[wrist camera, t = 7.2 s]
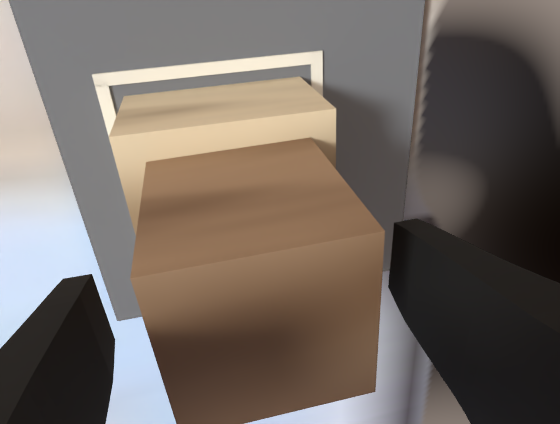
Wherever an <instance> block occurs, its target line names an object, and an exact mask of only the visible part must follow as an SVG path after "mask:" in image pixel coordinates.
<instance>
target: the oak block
mask: <svg viewBox="0 0 560 424" xmlns="http://www.w3.org/2000/svg"><path fill="white" fill-rule="evenodd" d="M310 137H311V139H312V140H313V141H314V142H315V144H316V145H317V146H318V147H319V149H320V150H321V151H322V152H323V154H324V155H325V156H326V157H327V159H328V160H329V161H330V163H331V164H332V165H333V166H334V168H335V169H336V108H335V107H334V106H333V105H332V104H330V103H329V102H328V101H327V100H326V99H325V98H324V97H322V96H321V95H320V94H319V93H318V92H317V91H316V90H315V89H313V88H312V87H311V86H310V85H309V84H308V83H307V82H306V81H304V80H303V79H302V78H301V77H291V78H282V79H273V80H264V81H255V82H246V83H237V84H228V85H219V86H210V87H201V88H192V89H183V90H174V91H165V92H156V93H147V94H138V95H130V96H124V97H123V100H122V103H121V105H120V108H119V111H118V113H117V116H116V119H115V121H114V124H113V127H112V129H111V132H110V135H109V140H110V144H111V147H112V151H113V155H114V158H115V162H116V166H117V169H118V173H119V177H120V180H121V184H122V188H123V191H124V195H125V199H126V202H127V206H128V210H129V213H130V217H131V221H132V224H133V228H134V232H135V235H136V232H137V225H138V217H139V210H140V203H141V196H142V188H143V181H144V174H145V166H146V162H149V161H155V160H162V159H169V158H175V157H182V156H189V155H196V154H202V153H209V152H216V151H222V150H229V149H236V148H242V147H249V146H256V145H263V144H269V143H276V142H283V141H289V140H296V139H303V138H310Z"/></svg>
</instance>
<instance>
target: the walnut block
mask: <svg viewBox="0 0 560 424" xmlns="http://www.w3.org/2000/svg"><path fill="white" fill-rule="evenodd" d="M384 238H385V231H384V229H383V228H382V227H381V225H380V224H379V223H378V222H377V220H376V219H375V218H374V217H373V215H372V214H371V213H370V212H369V210H368V209H367V208H366V207H365V205H364V204H363V203H362V202H361V200H360V199H359V198H358V197H357V195H356V194H355V193H354V191H353V190H352V189H351V188H350V186H349V185H348V184H347V183H346V181H345V180H344V179H343V178H342V176H341V175H340V174H339V173H338V171H337V170H336V169H335V168H334V166H333V165H332V164H331V163H330V161H329V160H328V159H327V157H326V156H325V155H324V154H323V152H322V151H321V150H320V149H319V147H318V146H317V145H316V144H315V142H314V141H313V140H312V139H311V137H310V138H303V139H296V140H289V141H283V142H276V143H269V144H263V145H256V146H249V147H242V148H236V149H229V150H222V151H216V152H209V153H202V154H196V155H189V156H182V157H175V158H169V159H162V160H155V161H149V162H146V166H145V174H144V181H143V188H142V196H141V203H140V210H139V217H138V225H137V232H136V239H135V247H134V254H133V261H132V269H131V276H130V280H131V283H132V286H133V289H134V292H135V295H136V298H137V301H138V305H139V308H140V311H141V314H142V317H143V320H144V323H145V326H146V330H147V333H148V336H149V339H150V342H151V345H152V348H153V351H154V355H155V358H156V361H157V364H158V367H159V370H160V373H161V376H162V380H163V383H164V386H165V389H166V392H167V395H168V398H169V402H170V405H171V408H172V411H173V414H174V417H175V420H176V423H177V424H244V423H248V422H252V421H256V420H261V419H265V418H269V417H273V416H277V415H281V414H285V413H289V412H294V411H298V410H302V409H306V408H310V407H314V406H318V405H322V404H327V403H331V402H335V401H339V400H343V399H347V398H351V397H355V396H360V395H364V394H368V393H372V392H375V387H376V371H377V354H378V337H379V321H380V304H381V288H382V271H383V254H384Z"/></svg>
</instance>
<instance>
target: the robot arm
mask: <svg viewBox="0 0 560 424" xmlns="http://www.w3.org/2000/svg"><path fill="white" fill-rule="evenodd" d="M388 287H389V289H390V291H391V293H392V296H393V298H394V300H395V302H396V304H397V306H398V308H399V310H400V312H401V314H402V316H403V318H404V320H405V322H406V323H407V325H408V327H409V328H410V330H411V331H412V333H413V334H414V336H415V337H416V339H417V340H418V342H419V344H420V345H421V347H422V348H423V350H424V351H425V353H426V354H427V356H428V357H429V359H430V360H431V362H432V363H433V365H434V366H435V368H436V369H437V371H438V372H439V373H440V375H441V377H442V378H443V380H444V381H445V382H446V384H447V385H448V387H449V388H450V390H451V391H452V393H453V394H454V396H455V397H456V399H457V401H458V403H459V404H460V406H461V407H462V409H463V411H464V412H465V414H466V416H467V418H468V420H469V421H470V423H471V424H560V283H558V282H555V281H553V280H550V279H548V278H545V277H543V276H540V275H538V274H536V273H533V272H531V271H529V270H526V269H524V268H521V267H519V266H517V265H514V264H512V263H510V262H508V261H506V260H504V259H501V258H499V257H497V256H495V255H493V254H490V253H489V252H487V251H484V250H482V249H480V248H478V247H476V246H474V245H472V244H470V243H468V242H466V241H464V240H462V239H460V238H458V237H456V236H454V235H452V234H450V233H448V232H446V231H444V230H441V229H439V228H437V227H435V226H433V225H431V224H429V223H426V222H424V221H422V220H419V219H412V220H406V221H400V222H394V228H393V240H392V251H391V262H390V274H389V285H388ZM114 351H115V338H114V336H113V333H112V330H111V327H110V324H109V321H108V319H107V316H106V313H105V310H104V307H103V304H102V302H101V299H100V296H99V293H98V290H97V287H96V285H95V282H94V279H93V276H92V274H89V275H83V276H77V277H71V278H65V279H63V280H62V281H61V282H60V283H59V284H58V285H57V286H56V287H55V288H54V289H53V290H52V291H51V293H50V294H49V295H48V296H47V297H46V298H45V299H44V301H43V302H42V303H41V304H40V305H39V306H38V307H37V309H36V310H35V311H34V312H33V313H32V314H31V315H30V317H29V318H28V319H27V320H26V321H25V322H24V323H23V324H22V325H21V327H20V328H19V329H18V330H17V331H16V332H15V333H14V334H13V335H12V336H11V338H10V339H9V340H8V341H7V342H6V343H5V344H4V345H3V346H2V348H1V349H0V424H105V423H106V417H107V412H108V406H109V401H110V395H111V389H112V383H113V371H114Z"/></svg>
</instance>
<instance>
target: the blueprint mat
mask: <svg viewBox="0 0 560 424" xmlns="http://www.w3.org/2000/svg"><path fill="white" fill-rule="evenodd" d="M9 3H10V6H11V9H12V12H13V15H14V18H15V21H16V24H17V27H18V29H19V32H20V35H21V38H22V41H23V44H24V47H25V50H26V53H27V56H28V59H29V62H30V65H31V68H32V71H33V74H34V77H35V80H36V83H37V86H38V88H39V91H40V94H41V97H42V100H43V103H44V106H45V109H46V112H47V115H48V118H49V121H50V124H51V127H52V130H53V133H54V136H55V139H56V142H57V145H58V147H59V150H60V153H61V156H62V159H63V162H64V165H65V168H66V171H67V174H68V177H69V180H70V183H71V186H72V189H73V192H74V195H75V198H76V201H77V204H78V206H79V209H80V212H81V215H82V218H83V221H84V224H85V227H86V230H87V233H88V236H89V239H90V242H91V245H92V248H93V251H94V254H95V257H96V260H97V263H98V265H99V268H100V271H101V274H102V277H103V280H104V283H105V286H106V289H107V292H108V295H109V298H110V301H111V304H112V307H113V310H114V313H115V316H116V319H117V321H121V320H126V319H132V318H137V317H142V314H141V311H140V308H139V305H138V301H137V298H136V295H135V292H134V289H133V286H132V283H131V280H130V276H131V269H132V261H133V254H134V247H135V239H136V235H135V232H134V228H133V224H132V221H131V217H130V213H129V210H128V206H127V202H126V199H125V195H124V191H123V188H122V184H121V180H120V177H119V173H118V169H117V166H116V162H115V158H114V155H113V151H112V147H111V144H110V140H109V135H110V132H111V129H112V127H113V124H114V121H115V119H116V116H117V113H118V111H119V108H120V105H121V103H122V100H123V97H124V96H130V95H138V94H147V93H156V92H165V91H174V90H183V89H192V88H201V87H210V86H219V85H228V84H237V83H246V82H255V81H264V80H273V79H282V78H291V77H301V78H302V79H303V80H304V81H306V82H307V83H308V84H309V85H310V86H311V87H312V88H313V89H315V90H316V91H317V92H318V93H319V94H320V95H321V96H322V97H324V98H325V99H326V100H327V101H328V102H329V103H330V104H332V105H333V106H334V107H335V108H336V170H337V171H338V173H339V174H340V175H341V176H342V178H343V179H344V180H345V181H346V183H347V184H348V185H349V186H350V188H351V189H352V190H353V191H354V193H355V194H356V195H357V197H358V198H359V199H360V200H361V202H362V203H363V204H364V205H365V207H366V208H367V209H368V210H369V212H370V213H371V214H372V215H373V217H374V218H375V219H376V220H377V222H378V223H379V224H380V225H381V227H382V228H383V229H384V231H385V238H384V254H383V271H388V270H390V262H391V251H392V240H393V228H394V222H400V221H403V214H404V204H405V194H406V184H407V174H408V164H409V154H410V144H411V134H412V124H413V114H414V105H415V95H416V85H417V75H418V65H419V55H420V45H421V35H422V25H423V15H424V5H425V0H9Z"/></svg>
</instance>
